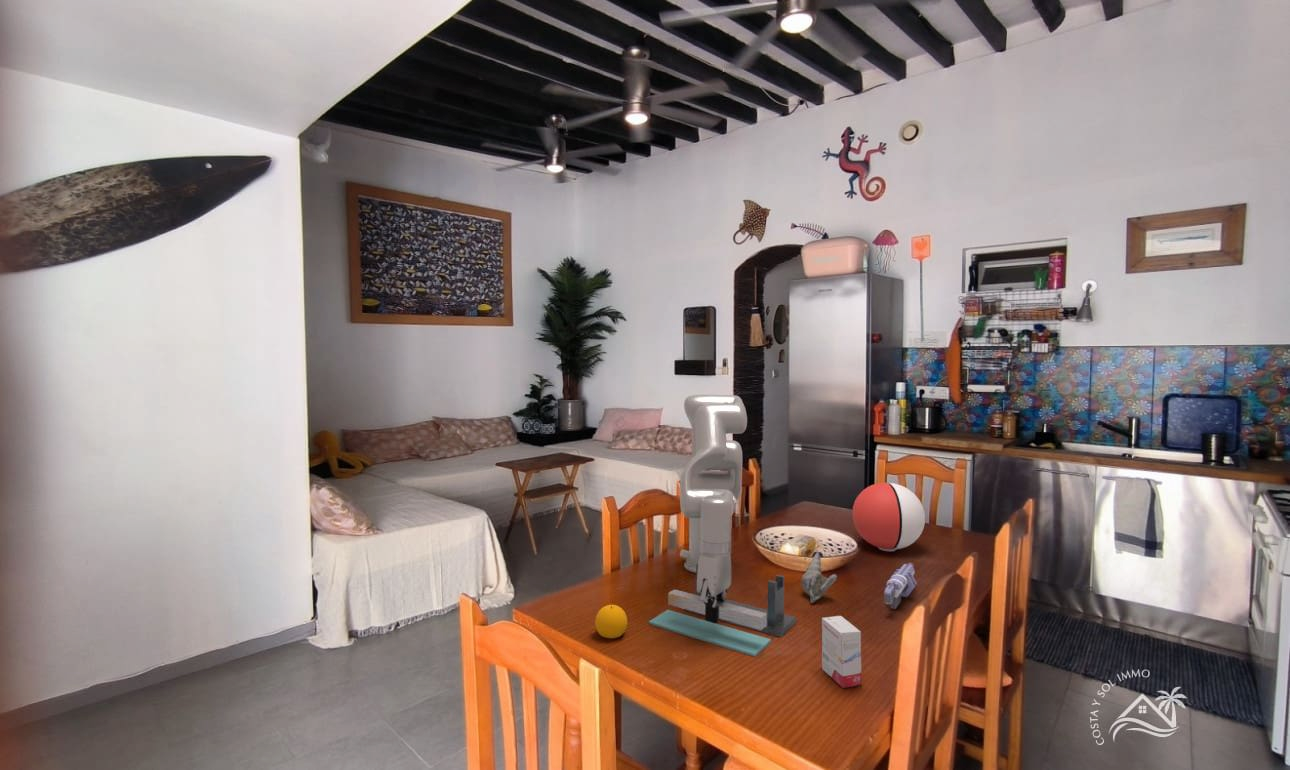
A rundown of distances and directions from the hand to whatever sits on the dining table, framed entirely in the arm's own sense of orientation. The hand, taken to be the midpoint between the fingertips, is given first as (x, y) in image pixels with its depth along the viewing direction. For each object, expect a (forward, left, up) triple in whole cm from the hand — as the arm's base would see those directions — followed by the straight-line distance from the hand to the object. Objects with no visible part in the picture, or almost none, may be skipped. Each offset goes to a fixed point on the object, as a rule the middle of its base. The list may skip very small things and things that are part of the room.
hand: (715, 618), depth 155 cm
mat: (-2, 0, -4) cm, 5 cm away
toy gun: (+32, +49, -4) cm, 59 cm away
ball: (+18, +94, -4) cm, 96 cm away
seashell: (+13, +40, -4) cm, 42 cm away
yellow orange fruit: (-21, -15, -4) cm, 26 cm away
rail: (0, 0, +1) cm, 1 cm away
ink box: (+32, -2, -4) cm, 32 cm away
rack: (0, +13, -4) cm, 14 cm away
